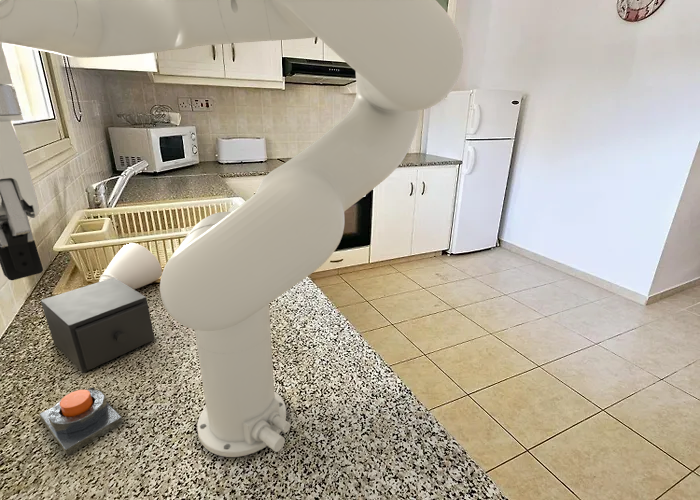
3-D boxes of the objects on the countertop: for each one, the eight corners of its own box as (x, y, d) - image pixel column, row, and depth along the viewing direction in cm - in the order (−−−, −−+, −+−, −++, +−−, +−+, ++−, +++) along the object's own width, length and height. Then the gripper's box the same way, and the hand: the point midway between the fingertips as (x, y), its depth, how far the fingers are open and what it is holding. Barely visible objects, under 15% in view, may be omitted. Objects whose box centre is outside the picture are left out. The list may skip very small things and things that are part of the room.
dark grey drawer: (157, 341, 72) (150, 306, 69) (91, 373, 63) (80, 333, 60) (124, 318, 79) (116, 285, 76) (61, 343, 71) (49, 307, 68)
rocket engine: (65, 278, 76) (132, 234, 90) (51, 299, 83) (116, 255, 97) (110, 317, 79) (169, 268, 93) (94, 334, 86) (151, 286, 100)
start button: (97, 406, 54) (94, 396, 53) (68, 421, 51) (65, 411, 51) (87, 395, 56) (84, 385, 55) (58, 409, 53) (55, 399, 53)
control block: (123, 423, 55) (119, 407, 53) (67, 456, 49) (61, 439, 48) (94, 392, 60) (90, 377, 59) (41, 419, 55) (35, 403, 54)
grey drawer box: (154, 339, 74) (146, 296, 70) (82, 373, 64) (68, 325, 61) (123, 317, 81) (113, 277, 78) (54, 344, 72) (40, 300, 68)
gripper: (-99, 102, 38) (-35, 268, 44) (-73, 105, 30) (0, 308, 36) (-2, 104, 43) (42, 250, 50) (42, 106, 35) (88, 281, 42)
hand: (24, 274), depth 43 cm, fingers closed
